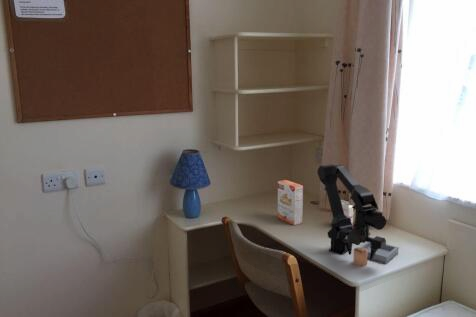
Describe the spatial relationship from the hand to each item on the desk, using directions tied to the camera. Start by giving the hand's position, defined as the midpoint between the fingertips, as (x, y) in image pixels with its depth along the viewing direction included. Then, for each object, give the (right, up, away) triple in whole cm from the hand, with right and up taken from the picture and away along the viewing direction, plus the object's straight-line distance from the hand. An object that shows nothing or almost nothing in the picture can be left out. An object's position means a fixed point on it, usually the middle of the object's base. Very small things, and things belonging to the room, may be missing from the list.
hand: (360, 257), depth 180 cm
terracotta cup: (0, -3, 0) cm, 3 cm away
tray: (+10, -1, +9) cm, 13 cm away
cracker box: (-23, +8, +51) cm, 56 cm away
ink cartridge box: (+3, +6, +42) cm, 42 cm away
